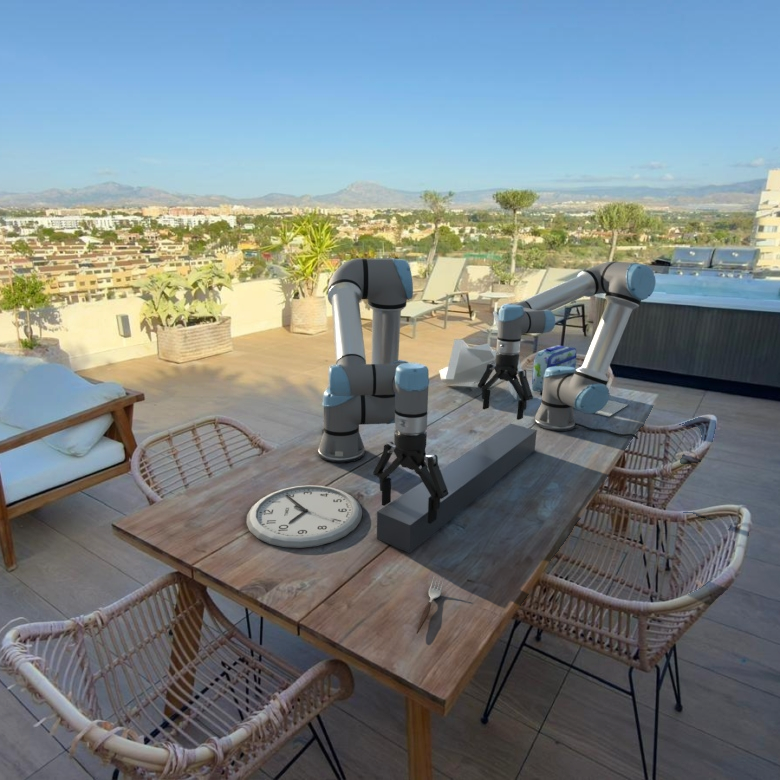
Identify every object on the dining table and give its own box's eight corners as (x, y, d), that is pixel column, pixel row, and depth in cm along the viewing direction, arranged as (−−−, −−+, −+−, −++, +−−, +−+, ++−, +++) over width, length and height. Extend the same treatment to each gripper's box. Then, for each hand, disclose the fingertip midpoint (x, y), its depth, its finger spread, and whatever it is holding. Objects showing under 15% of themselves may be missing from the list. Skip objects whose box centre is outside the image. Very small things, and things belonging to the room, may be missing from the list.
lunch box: (548, 398, 236) (553, 353, 229) (527, 393, 243) (531, 349, 237) (575, 387, 253) (581, 344, 247) (555, 382, 260) (560, 341, 254)
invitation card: (608, 416, 214) (573, 407, 224) (608, 416, 214) (573, 408, 224) (628, 404, 229) (594, 396, 238) (628, 405, 229) (594, 397, 238)
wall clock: (364, 539, 124) (235, 543, 122) (364, 545, 125) (236, 550, 122) (360, 481, 153) (256, 483, 150) (360, 486, 153) (256, 488, 151)
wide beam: (508, 443, 186) (510, 423, 184) (534, 450, 181) (536, 430, 178) (376, 538, 128) (377, 511, 126) (409, 553, 122) (410, 525, 120)
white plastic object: (461, 429, 252) (437, 405, 227) (444, 352, 274) (420, 323, 250) (535, 404, 240) (518, 377, 215) (510, 326, 262) (492, 293, 237)
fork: (410, 633, 98) (410, 625, 97) (432, 582, 112) (433, 574, 112) (423, 637, 97) (423, 628, 96) (444, 585, 111) (445, 577, 111)
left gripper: (359, 423, 126) (359, 502, 131) (448, 448, 111) (444, 535, 117) (378, 415, 131) (377, 491, 137) (466, 438, 117) (461, 522, 123)
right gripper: (470, 347, 177) (466, 406, 184) (535, 361, 161) (528, 426, 167) (483, 344, 182) (478, 402, 189) (548, 357, 166) (540, 420, 172)
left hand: (408, 512), depth 127 cm, fingers open, 13 cm apart
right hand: (502, 413), depth 178 cm, fingers open, 13 cm apart
